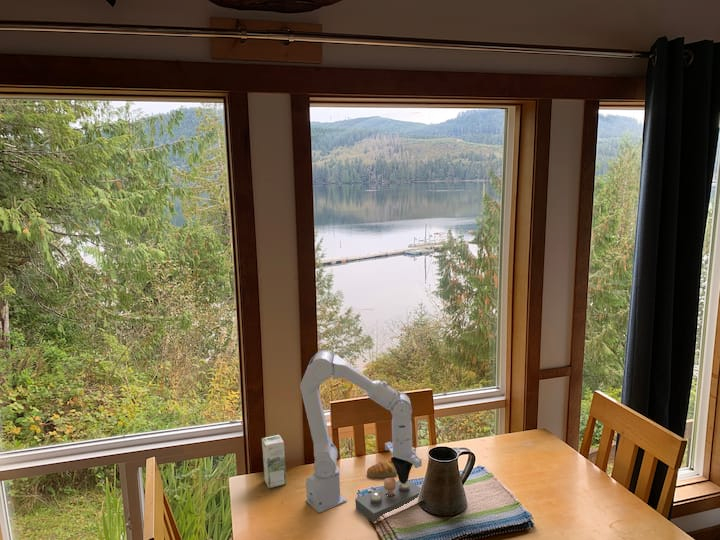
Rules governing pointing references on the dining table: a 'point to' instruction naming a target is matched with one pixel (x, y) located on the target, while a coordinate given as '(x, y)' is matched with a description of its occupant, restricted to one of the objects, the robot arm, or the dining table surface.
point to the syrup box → (274, 461)
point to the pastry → (382, 470)
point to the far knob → (403, 486)
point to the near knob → (375, 497)
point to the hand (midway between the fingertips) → (403, 481)
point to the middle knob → (390, 486)
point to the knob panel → (386, 501)
